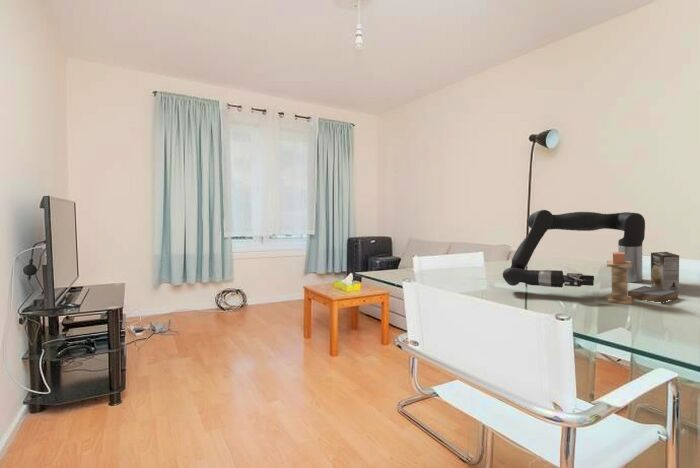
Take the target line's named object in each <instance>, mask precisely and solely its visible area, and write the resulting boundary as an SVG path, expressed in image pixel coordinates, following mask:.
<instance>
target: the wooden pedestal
mask: <svg viewBox="0 0 700 468" xmlns="http://www.w3.org/2000/svg"><path fill="white" fill-rule="evenodd" d="M606 267H607V268H611V294H607V303H611V304H620V305H621V304H623V305H624V304H625V305H633V299H632V298H631V296H628V282H627V267H631V268H632V264H631V261H625V264H613V260H606Z"/></svg>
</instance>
